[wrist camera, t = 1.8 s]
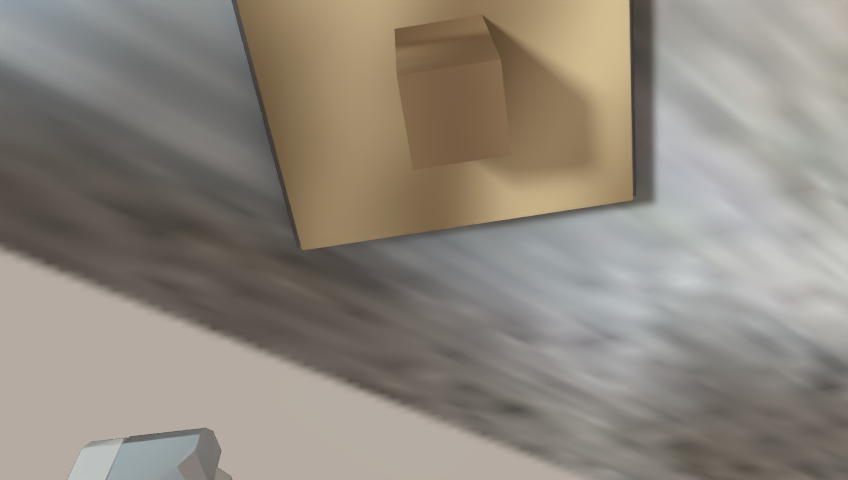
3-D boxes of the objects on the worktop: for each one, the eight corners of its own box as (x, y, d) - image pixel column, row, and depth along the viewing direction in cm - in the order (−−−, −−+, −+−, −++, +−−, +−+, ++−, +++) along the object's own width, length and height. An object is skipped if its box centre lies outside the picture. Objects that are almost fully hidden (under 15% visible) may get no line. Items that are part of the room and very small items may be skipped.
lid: (304, 238, 26) (289, 325, 22) (214, -109, 21) (172, -80, 16) (626, 189, 25) (674, 268, 21) (617, -176, 20) (678, -165, 16)
